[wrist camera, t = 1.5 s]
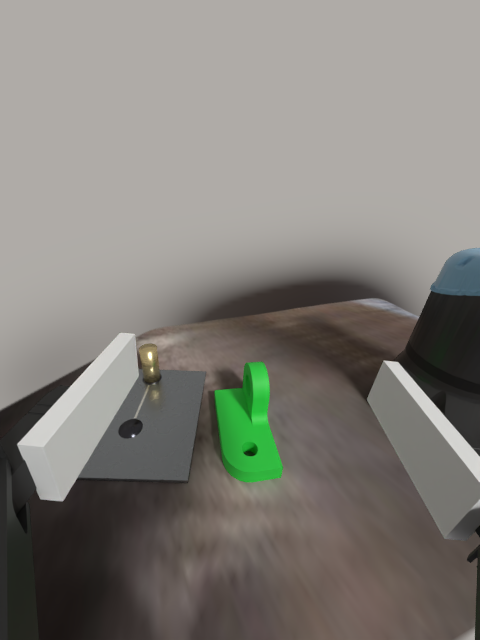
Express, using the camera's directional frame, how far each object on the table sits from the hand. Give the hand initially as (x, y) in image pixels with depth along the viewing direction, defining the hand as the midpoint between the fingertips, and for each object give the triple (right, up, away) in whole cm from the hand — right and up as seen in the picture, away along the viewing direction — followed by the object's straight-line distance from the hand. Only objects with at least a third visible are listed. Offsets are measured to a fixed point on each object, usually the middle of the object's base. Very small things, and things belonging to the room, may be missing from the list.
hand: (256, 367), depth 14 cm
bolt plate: (-14, -10, +20) cm, 26 cm away
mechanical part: (-1, -12, +19) cm, 22 cm away
